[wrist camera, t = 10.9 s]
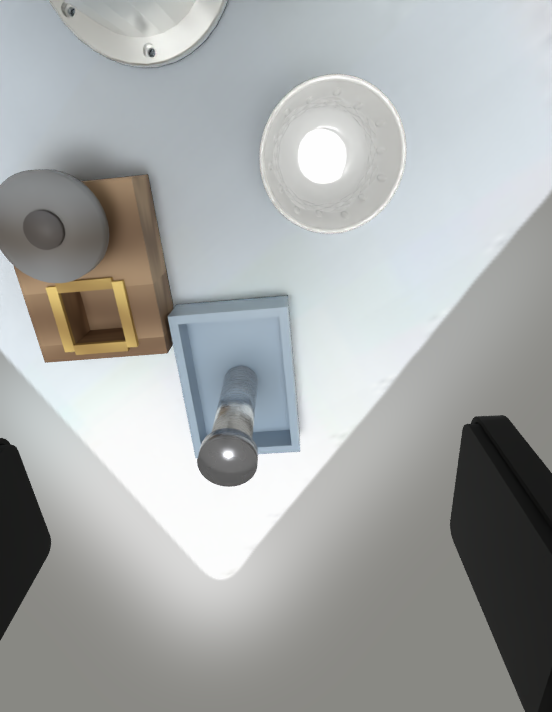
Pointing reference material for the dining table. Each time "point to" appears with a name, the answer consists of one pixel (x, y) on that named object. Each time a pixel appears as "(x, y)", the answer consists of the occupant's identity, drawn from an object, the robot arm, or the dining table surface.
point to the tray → (238, 348)
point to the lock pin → (232, 432)
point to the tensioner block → (87, 263)
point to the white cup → (332, 153)
